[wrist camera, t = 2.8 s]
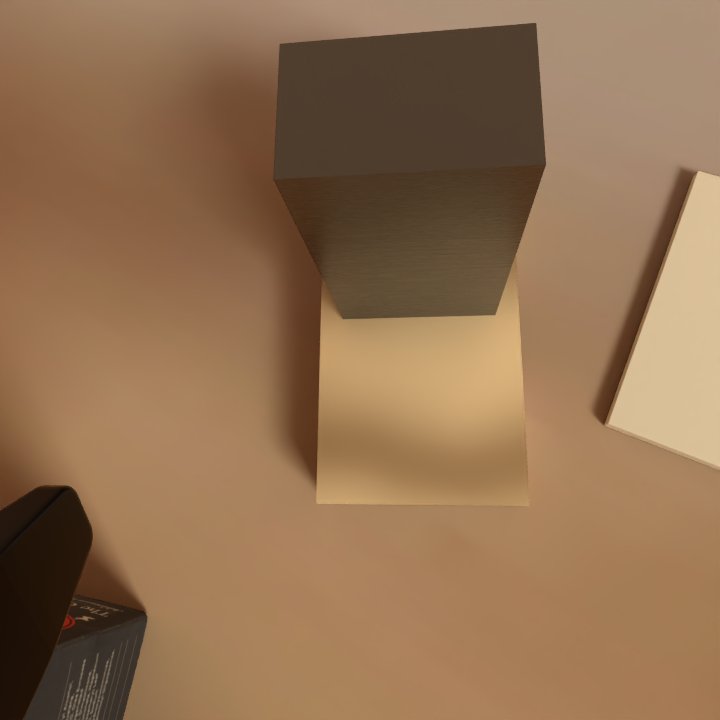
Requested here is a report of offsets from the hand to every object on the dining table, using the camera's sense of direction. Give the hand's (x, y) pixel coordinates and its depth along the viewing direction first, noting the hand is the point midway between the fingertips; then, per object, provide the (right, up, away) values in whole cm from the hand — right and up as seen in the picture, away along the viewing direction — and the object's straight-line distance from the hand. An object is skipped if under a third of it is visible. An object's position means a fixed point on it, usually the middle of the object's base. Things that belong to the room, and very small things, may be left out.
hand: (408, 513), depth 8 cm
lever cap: (+1, +5, +12) cm, 13 cm away
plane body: (+2, +4, +15) cm, 15 cm away
